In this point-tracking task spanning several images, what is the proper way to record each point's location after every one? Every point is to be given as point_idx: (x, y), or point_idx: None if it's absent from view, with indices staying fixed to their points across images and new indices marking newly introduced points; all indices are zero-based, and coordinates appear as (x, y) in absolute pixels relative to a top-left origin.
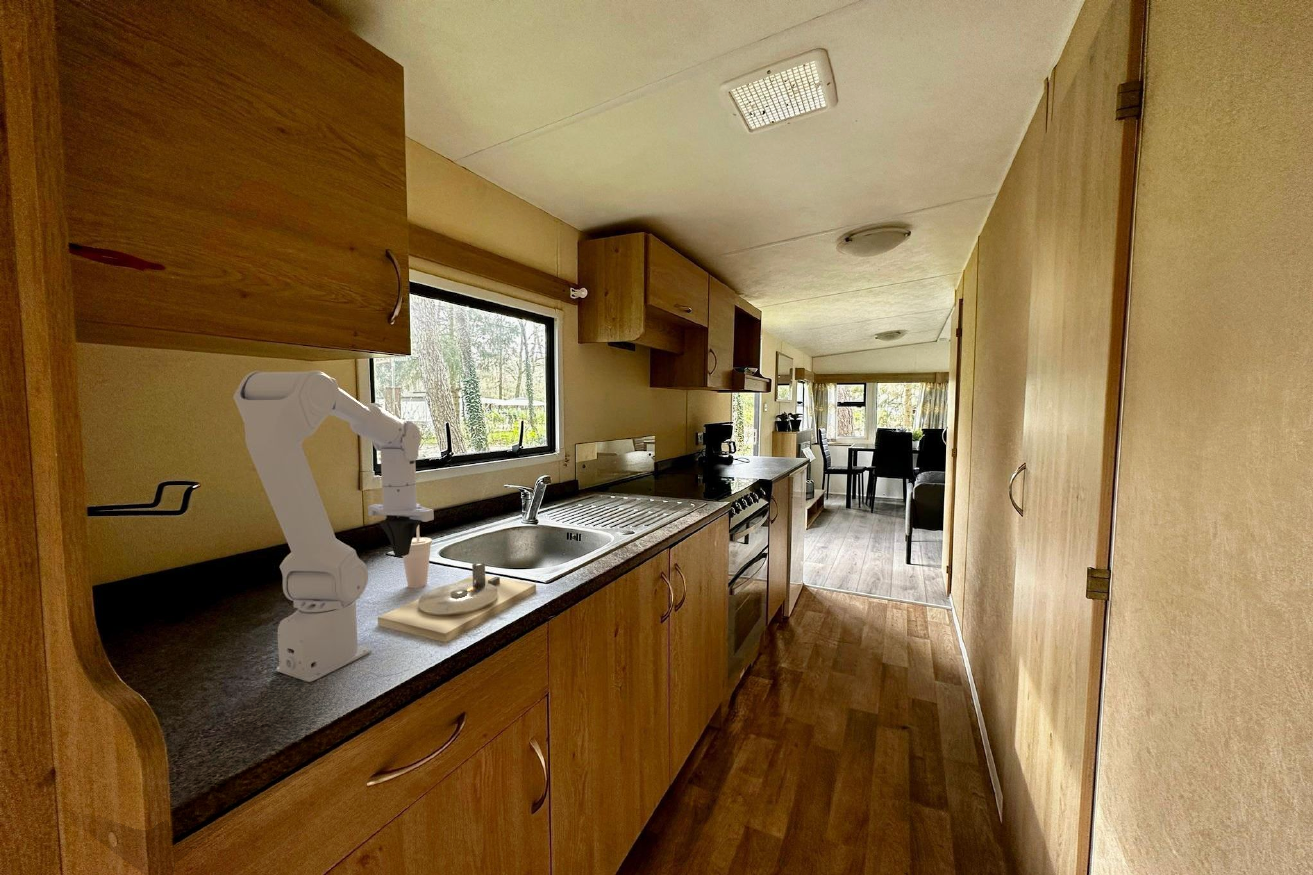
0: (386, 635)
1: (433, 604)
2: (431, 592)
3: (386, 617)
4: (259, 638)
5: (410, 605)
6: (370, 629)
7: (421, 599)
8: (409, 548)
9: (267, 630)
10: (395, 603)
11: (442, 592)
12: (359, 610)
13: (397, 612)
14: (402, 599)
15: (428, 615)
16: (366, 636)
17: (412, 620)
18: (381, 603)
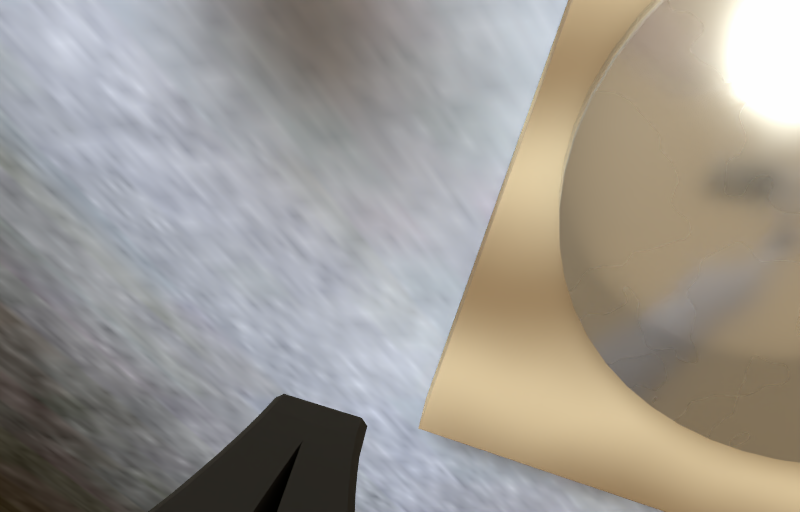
0: (539, 483)
1: (732, 387)
2: (604, 182)
3: (470, 433)
4: (52, 483)
5: (510, 286)
6: (419, 431)
7: (594, 310)
8: (355, 473)
9: (6, 430)
10: (311, 125)
11: (707, 179)
12: (184, 238)
13: (491, 378)
14: (308, 52)
15: None
16: (451, 487)
17: (645, 466)
18: (223, 134)
